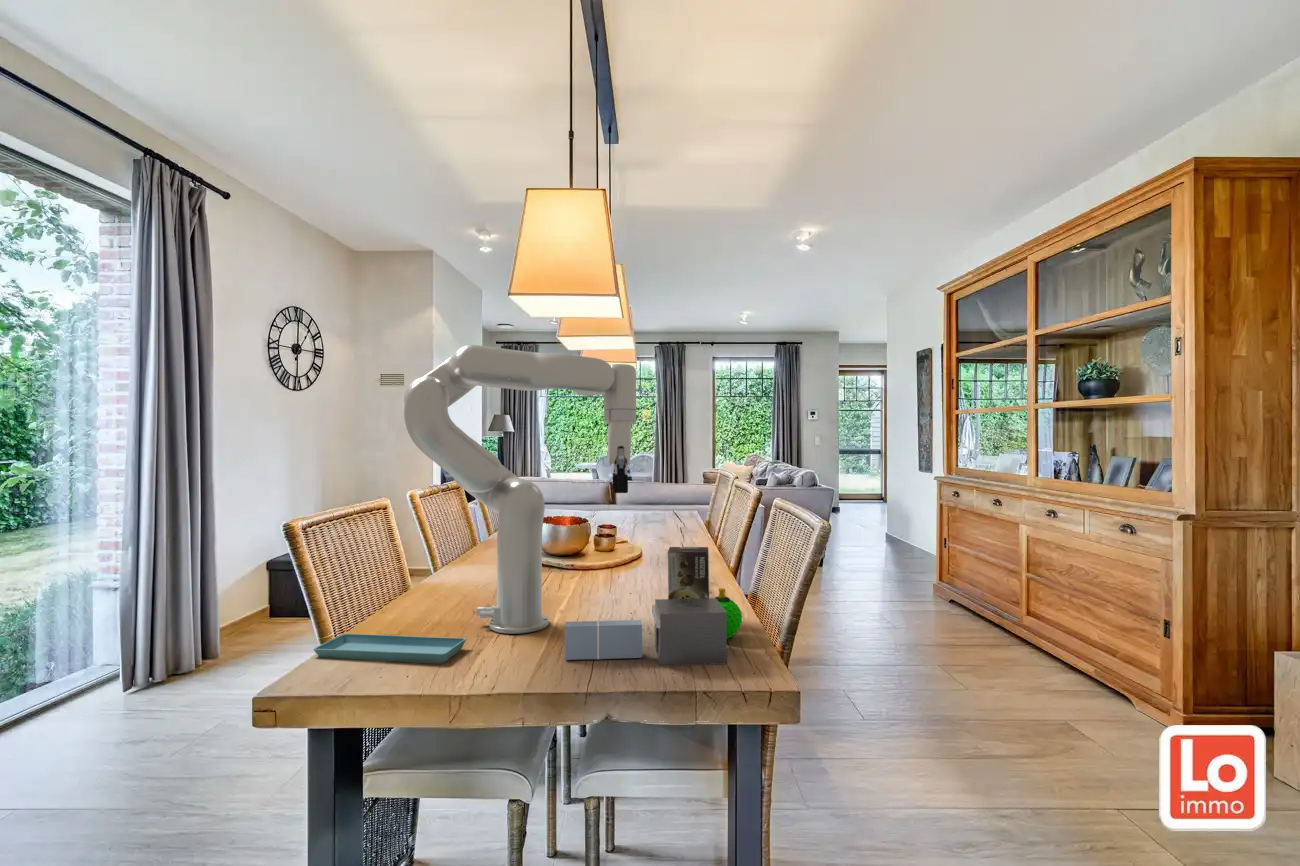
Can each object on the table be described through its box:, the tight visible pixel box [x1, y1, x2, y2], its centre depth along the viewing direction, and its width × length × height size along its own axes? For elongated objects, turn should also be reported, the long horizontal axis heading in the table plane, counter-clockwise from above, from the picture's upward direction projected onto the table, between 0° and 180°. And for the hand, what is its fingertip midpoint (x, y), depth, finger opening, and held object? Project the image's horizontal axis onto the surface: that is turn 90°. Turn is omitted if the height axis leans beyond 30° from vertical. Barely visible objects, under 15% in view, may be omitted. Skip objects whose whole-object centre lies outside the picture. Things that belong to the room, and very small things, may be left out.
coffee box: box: [667, 546, 710, 599], centre depth 135 cm, size 9×6×16 cm
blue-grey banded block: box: [564, 619, 643, 661], centre depth 113 cm, size 14×3×6 cm, turn 95°
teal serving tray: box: [313, 633, 467, 665], centre depth 115 cm, size 26×9×2 cm, turn 81°
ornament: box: [714, 587, 743, 640], centre depth 124 cm, size 8×8×10 cm
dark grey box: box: [651, 597, 728, 667], centre depth 114 cm, size 13×10×9 cm
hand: (620, 491), depth 142 cm, fingers open, 9 cm apart
